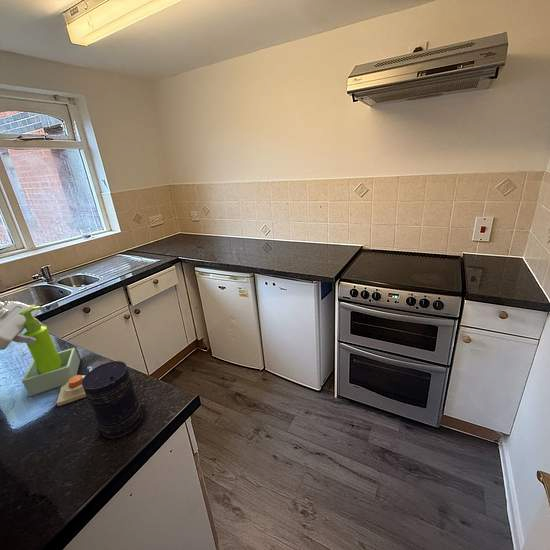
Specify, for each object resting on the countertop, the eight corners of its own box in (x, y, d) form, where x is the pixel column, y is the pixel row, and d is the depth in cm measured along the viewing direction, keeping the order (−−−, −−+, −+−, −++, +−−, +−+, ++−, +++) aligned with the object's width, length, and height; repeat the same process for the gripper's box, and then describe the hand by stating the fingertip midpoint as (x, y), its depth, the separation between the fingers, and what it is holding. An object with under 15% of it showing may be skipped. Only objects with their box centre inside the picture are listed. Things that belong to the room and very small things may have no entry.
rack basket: (29, 396, 89) (21, 381, 87) (39, 373, 99) (32, 359, 97) (75, 381, 93) (68, 366, 91) (80, 361, 103) (74, 347, 101)
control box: (57, 406, 83) (53, 398, 82) (63, 389, 90) (59, 381, 89) (97, 392, 87) (94, 384, 86) (99, 376, 94) (96, 369, 93)
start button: (68, 389, 86) (66, 385, 85) (70, 382, 89) (68, 377, 88) (83, 385, 87) (81, 380, 86) (84, 377, 90) (82, 373, 89)
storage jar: (93, 428, 75) (72, 381, 69) (128, 401, 82) (112, 356, 77) (116, 444, 70) (95, 394, 64) (151, 414, 77) (135, 367, 72)
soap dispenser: (68, 361, 97) (46, 305, 90) (46, 374, 91) (20, 316, 84) (57, 358, 99) (34, 304, 92) (35, 371, 93) (8, 314, 86)
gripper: (1, 308, 94) (48, 327, 100) (-41, 341, 76) (19, 362, 82) (11, 292, 94) (58, 312, 100) (-29, 322, 75) (31, 344, 81)
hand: (40, 335), depth 91 cm, fingers closed on soap dispenser, 6 cm apart
